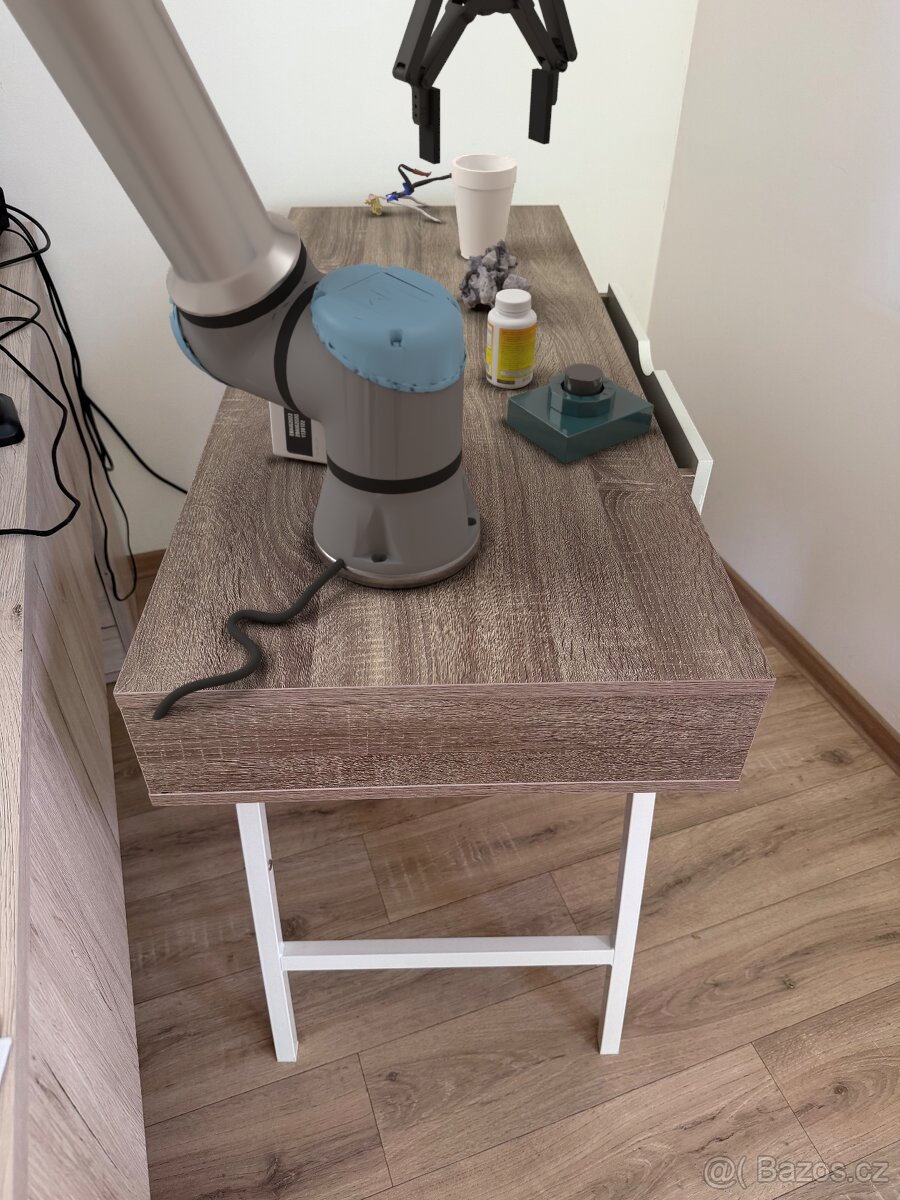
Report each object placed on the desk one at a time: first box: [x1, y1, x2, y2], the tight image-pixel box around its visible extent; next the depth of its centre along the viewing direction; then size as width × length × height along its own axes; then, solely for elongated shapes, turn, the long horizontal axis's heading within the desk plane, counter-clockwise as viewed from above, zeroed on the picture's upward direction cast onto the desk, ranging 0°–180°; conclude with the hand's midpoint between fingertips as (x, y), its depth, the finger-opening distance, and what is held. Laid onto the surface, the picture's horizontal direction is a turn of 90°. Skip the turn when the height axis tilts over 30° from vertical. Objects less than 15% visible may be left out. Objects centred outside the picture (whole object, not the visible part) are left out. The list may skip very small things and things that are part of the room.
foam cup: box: [451, 152, 518, 260], centre depth 135 cm, size 10×9×13 cm
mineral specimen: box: [457, 239, 533, 310], centre depth 122 cm, size 12×9×10 cm
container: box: [268, 401, 327, 465], centre depth 92 cm, size 8×8×13 cm
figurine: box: [363, 163, 452, 224], centre depth 153 cm, size 10×9×20 cm
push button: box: [563, 362, 604, 397], centre depth 97 cm, size 4×4×2 cm
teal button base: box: [506, 372, 655, 465], centre depth 99 cm, size 12×10×5 cm
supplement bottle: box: [485, 289, 538, 390], centre depth 105 cm, size 6×6×10 cm
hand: (485, 150), depth 94 cm, fingers open, 13 cm apart
